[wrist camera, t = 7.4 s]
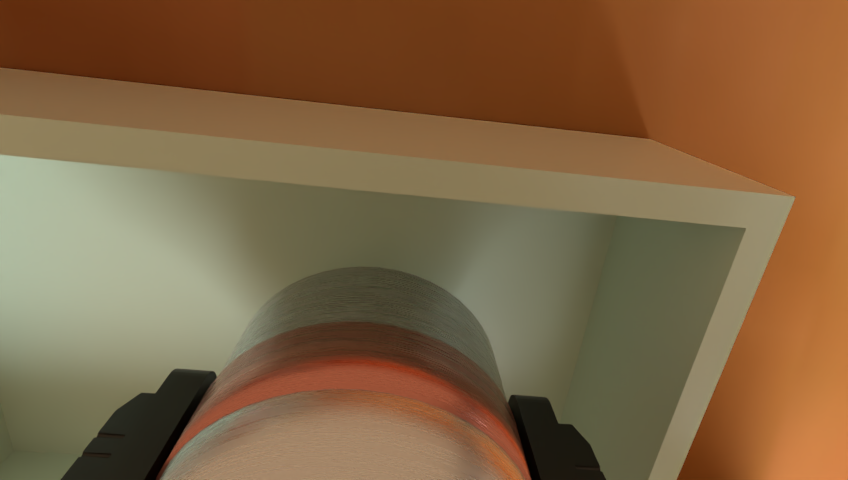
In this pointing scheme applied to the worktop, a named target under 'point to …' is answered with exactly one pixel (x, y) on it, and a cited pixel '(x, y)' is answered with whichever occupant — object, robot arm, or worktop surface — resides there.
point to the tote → (358, 252)
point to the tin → (355, 390)
